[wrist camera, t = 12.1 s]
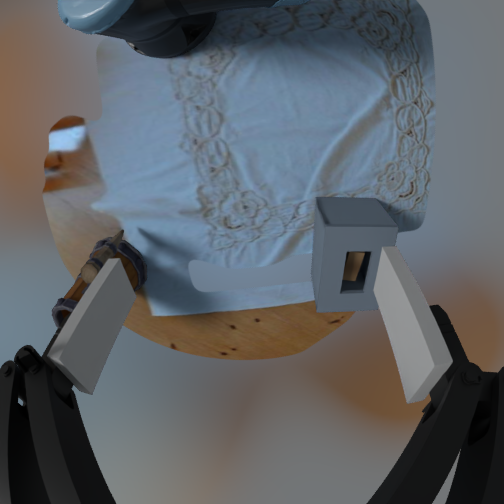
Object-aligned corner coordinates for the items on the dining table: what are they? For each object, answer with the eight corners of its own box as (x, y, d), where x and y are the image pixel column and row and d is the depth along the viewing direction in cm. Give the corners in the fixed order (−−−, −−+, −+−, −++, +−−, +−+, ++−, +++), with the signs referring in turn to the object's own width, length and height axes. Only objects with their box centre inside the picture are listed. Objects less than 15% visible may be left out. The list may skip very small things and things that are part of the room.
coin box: (315, 197, 46) (326, 226, 37) (375, 198, 45) (398, 227, 36) (310, 273, 55) (316, 312, 46) (363, 272, 54) (377, 309, 45)
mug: (100, 207, 50) (40, 263, 33) (161, 236, 53) (117, 306, 36) (90, 273, 60) (48, 331, 43) (140, 299, 63) (108, 365, 46)
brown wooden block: (339, 227, 48) (349, 251, 42) (353, 229, 48) (364, 253, 41) (332, 253, 51) (340, 279, 44) (345, 254, 51) (354, 281, 44)
